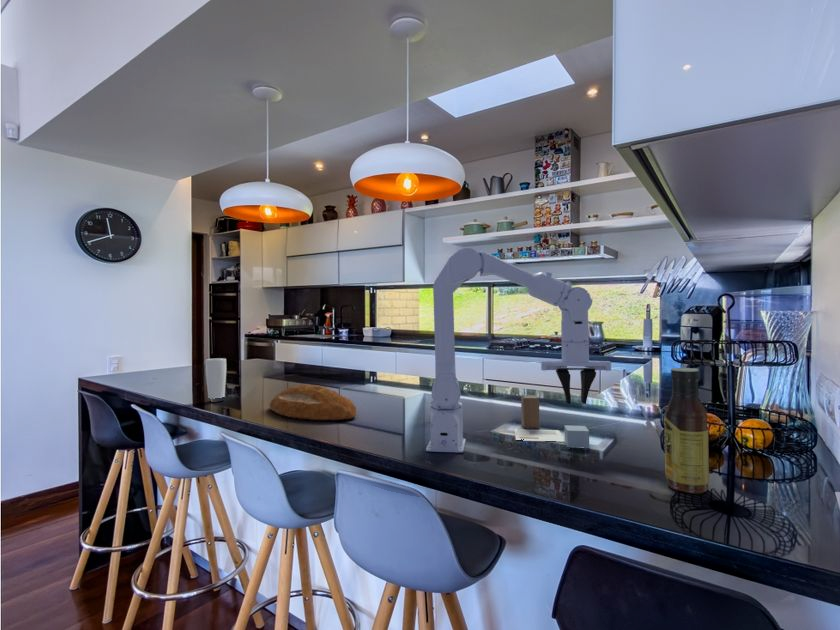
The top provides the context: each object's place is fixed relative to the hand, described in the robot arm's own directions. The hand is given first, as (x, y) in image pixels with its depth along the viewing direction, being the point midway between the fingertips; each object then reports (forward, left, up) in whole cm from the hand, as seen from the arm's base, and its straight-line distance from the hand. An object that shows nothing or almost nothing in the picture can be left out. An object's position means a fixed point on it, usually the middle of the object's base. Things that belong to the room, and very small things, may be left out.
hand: (575, 403), depth 99 cm
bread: (+26, +73, -10) cm, 78 cm away
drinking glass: (+41, +115, -10) cm, 122 cm away
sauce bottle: (-23, -13, -10) cm, 28 cm away
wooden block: (+15, +9, -10) cm, 20 cm away
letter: (+8, +8, -9) cm, 14 cm away
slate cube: (0, 0, -10) cm, 10 cm away
